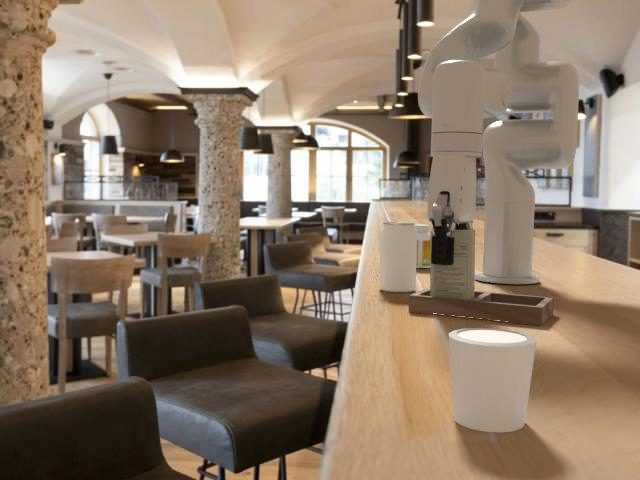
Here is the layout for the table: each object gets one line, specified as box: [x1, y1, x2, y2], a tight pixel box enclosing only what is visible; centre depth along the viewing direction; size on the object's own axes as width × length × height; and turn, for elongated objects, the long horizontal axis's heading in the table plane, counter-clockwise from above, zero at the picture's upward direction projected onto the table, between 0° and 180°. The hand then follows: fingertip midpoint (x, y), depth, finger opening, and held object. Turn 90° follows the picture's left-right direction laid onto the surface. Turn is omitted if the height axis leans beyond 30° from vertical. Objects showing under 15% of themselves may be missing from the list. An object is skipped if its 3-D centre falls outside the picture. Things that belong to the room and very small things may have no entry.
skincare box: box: [429, 229, 476, 300], centre depth 106 cm, size 6×4×12 cm
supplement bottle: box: [415, 223, 430, 269], centre depth 160 cm, size 5×5×10 cm
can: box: [378, 221, 417, 294], centre depth 125 cm, size 6×6×12 cm
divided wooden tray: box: [408, 286, 555, 326], centre depth 105 cm, size 10×19×2 cm, turn 63°
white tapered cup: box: [448, 327, 537, 434], centre depth 57 cm, size 7×7×7 cm
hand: (451, 262), depth 106 cm, fingers open, 9 cm apart
